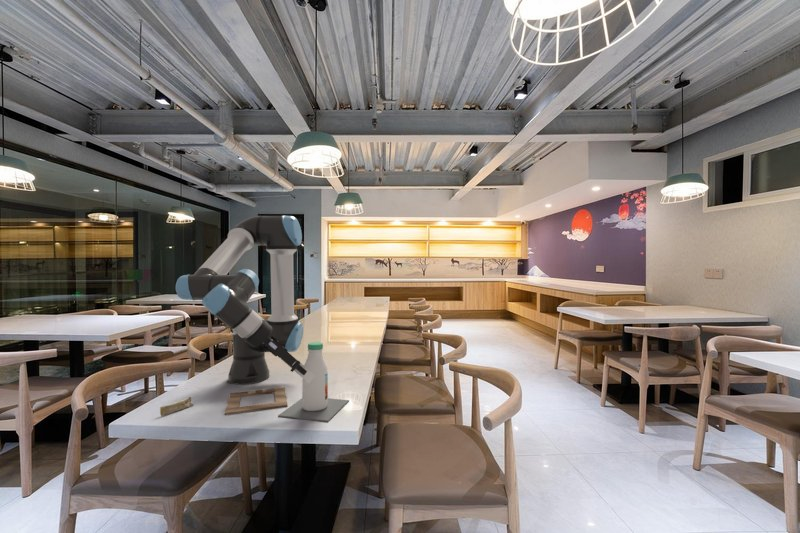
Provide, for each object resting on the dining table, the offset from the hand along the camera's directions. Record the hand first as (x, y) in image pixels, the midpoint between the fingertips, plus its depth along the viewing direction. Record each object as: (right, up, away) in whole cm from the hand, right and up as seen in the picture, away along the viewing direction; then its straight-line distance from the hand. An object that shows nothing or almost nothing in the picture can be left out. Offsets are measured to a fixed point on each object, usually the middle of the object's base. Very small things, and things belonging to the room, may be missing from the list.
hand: (305, 373), depth 109 cm
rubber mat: (+3, -12, +2) cm, 12 cm away
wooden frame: (-18, -12, +9) cm, 23 cm away
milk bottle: (+3, -11, +2) cm, 12 cm away
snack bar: (-40, -12, +1) cm, 42 cm away
